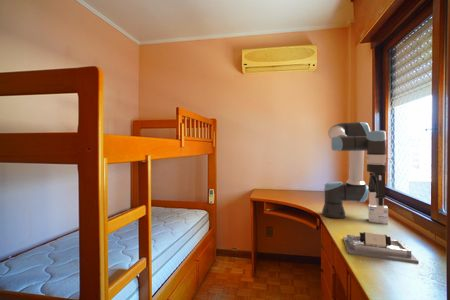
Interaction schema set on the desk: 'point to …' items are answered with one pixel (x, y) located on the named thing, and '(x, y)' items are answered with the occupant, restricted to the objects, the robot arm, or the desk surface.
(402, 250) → the shallow rectangular tray
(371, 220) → the light bulb box
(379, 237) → the pneumatic valve
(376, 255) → the mounting board
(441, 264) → the desk surface
